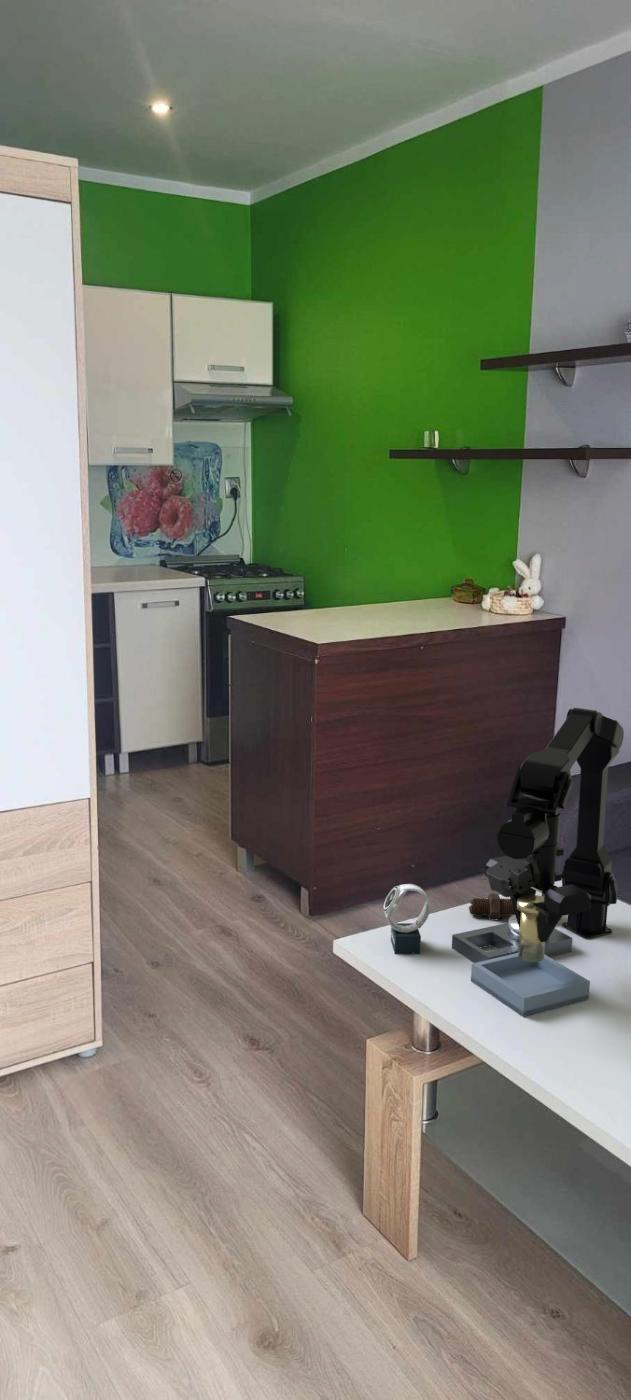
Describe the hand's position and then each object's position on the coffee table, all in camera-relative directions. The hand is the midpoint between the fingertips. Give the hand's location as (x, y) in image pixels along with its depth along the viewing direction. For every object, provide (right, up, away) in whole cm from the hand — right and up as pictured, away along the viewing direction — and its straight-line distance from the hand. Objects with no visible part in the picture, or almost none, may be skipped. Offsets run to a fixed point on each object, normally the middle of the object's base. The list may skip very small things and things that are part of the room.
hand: (532, 935), depth 166 cm
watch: (-19, -6, +16) cm, 26 cm away
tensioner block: (0, -6, +16) cm, 17 cm away
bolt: (+2, -4, +30) cm, 31 cm away
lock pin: (0, -3, +1) cm, 4 cm away
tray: (0, -9, +2) cm, 9 cm away
